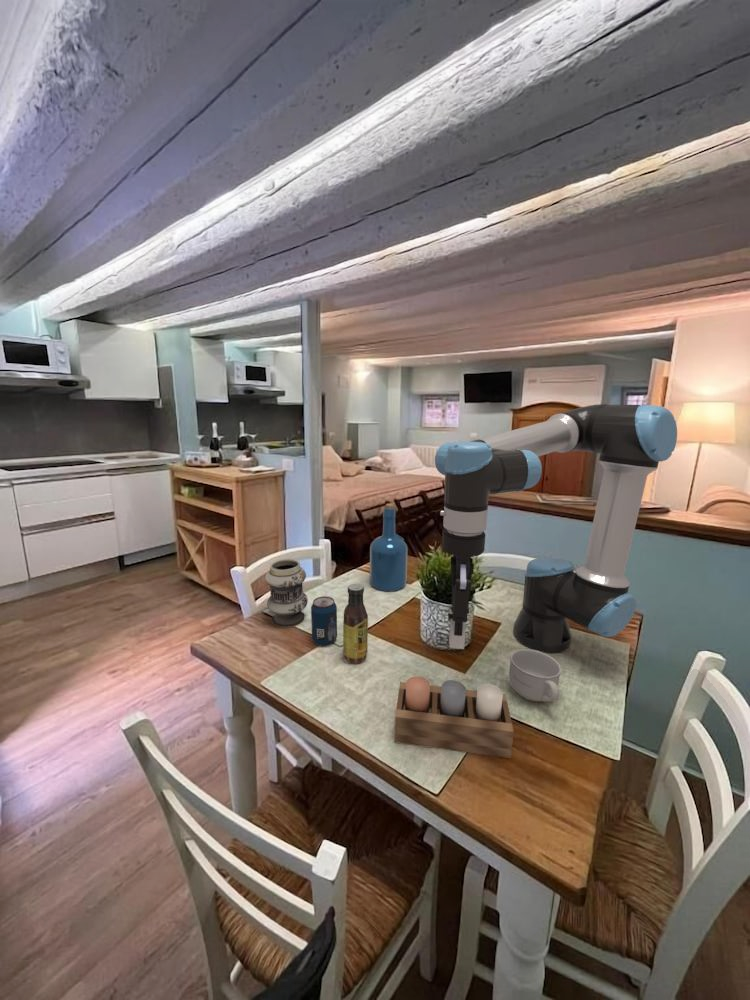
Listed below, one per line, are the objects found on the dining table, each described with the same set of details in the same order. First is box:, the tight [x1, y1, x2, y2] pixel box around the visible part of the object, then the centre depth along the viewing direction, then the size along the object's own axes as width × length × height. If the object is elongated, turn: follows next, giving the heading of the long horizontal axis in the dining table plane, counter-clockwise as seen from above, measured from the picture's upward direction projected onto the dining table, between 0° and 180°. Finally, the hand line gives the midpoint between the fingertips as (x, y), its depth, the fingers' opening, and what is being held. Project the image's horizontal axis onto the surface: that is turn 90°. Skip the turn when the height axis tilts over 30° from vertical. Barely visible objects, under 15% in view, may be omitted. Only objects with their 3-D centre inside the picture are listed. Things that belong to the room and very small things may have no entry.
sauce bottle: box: [342, 583, 369, 665], centre depth 103 cm, size 6×6×20 cm
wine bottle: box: [369, 503, 409, 592], centre depth 144 cm, size 14×13×30 cm
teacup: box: [508, 648, 562, 702], centre depth 92 cm, size 14×11×8 cm
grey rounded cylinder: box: [440, 679, 467, 717], centre depth 81 cm, size 5×5×6 cm
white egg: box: [475, 683, 504, 722], centre depth 80 cm, size 5×5×6 cm
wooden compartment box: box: [393, 681, 515, 759], centre depth 82 cm, size 22×10×6 cm, turn 81°
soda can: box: [310, 595, 338, 647], centre depth 112 cm, size 7×7×12 cm
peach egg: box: [405, 675, 431, 713], centre depth 82 cm, size 5×5×6 cm
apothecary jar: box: [265, 558, 309, 629], centre depth 122 cm, size 12×12×18 cm
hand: (456, 646), depth 78 cm, fingers closed
